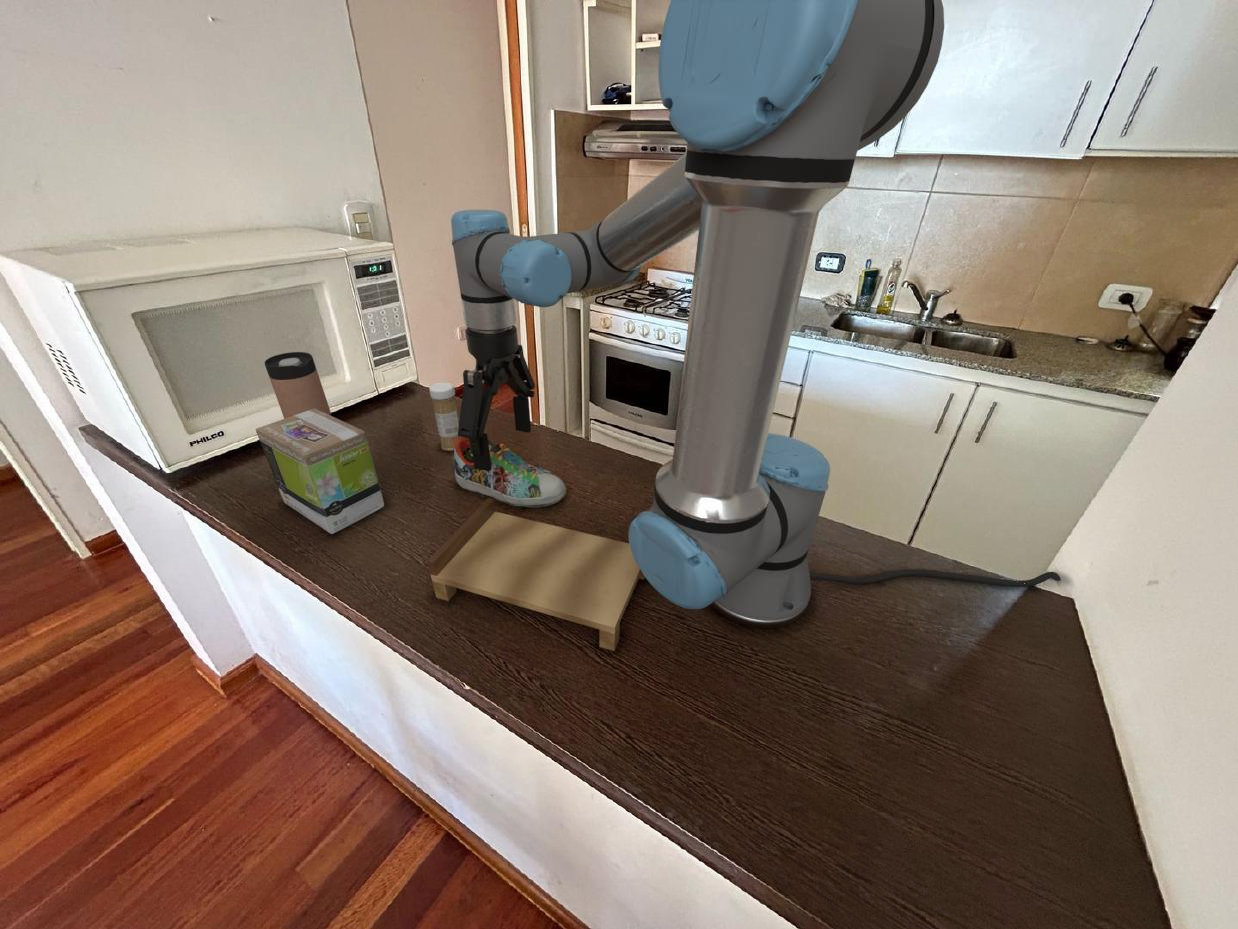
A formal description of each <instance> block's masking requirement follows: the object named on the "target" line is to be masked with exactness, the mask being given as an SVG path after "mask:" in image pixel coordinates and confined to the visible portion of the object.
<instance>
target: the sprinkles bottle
mask: <svg viewBox="0 0 1238 929" xmlns="http://www.w3.org/2000/svg"><path fill="white" fill-rule="evenodd" d="M428 391H429V397H430V399H431V401H432V406H433V411H434V417H435V422H436V427H437V432H438V436H439V441H440V448H441V450H443V451H446V452H454V443H455V440H457V439H458V438H460V436H458V427H459V420H460V416H459V413H458V406H457V401H456V390H455V385H454V384H453V383H451V382H447V381H442V382H441V381H440V382H436V383H434V384H432V385H430V386H429V390H428Z"/></svg>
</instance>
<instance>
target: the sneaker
mask: <svg viewBox="0 0 1238 929" xmlns="http://www.w3.org/2000/svg"><path fill="white" fill-rule="evenodd" d="M488 444H489V451H490V459H491V467H492V470H491V471H490V472H489V471H484V470H480V469H476V468H474V461H473V454H472V453H471V448H470V442H469V440H468V438H465V437H460V438H458V439H457V440H455V443H454V451H453V465H454V467H453V468H454V477H455V481H456V483H457V484H458V485H459V487H461V488H462V489H465V490H467V491H470V492H476V493H479V494H482V495H485V496H488V497H490V498H492V499H494V500H497V501H499V502H501V503H504V504H507V505H508V506H514V507H526V508H544V507H548V506H552V505H554V504H557V503H559V502H561V500H562V499H564V498H565V497H566V495H567V487H566V485H565V482H564V481H563V480H562V479H561V478H560V477H558V476H557V475H554V474H553V473H552V471H550V470H547V469H544V468H542V467H539V466H534V465H532V464H530V463H528V462H526V461H525V460H523V459H522V457H521V456H519V455H517V454H516V453H514V452H513V451H512V450H511V449H510V448H509V447H507V446H505V444H504V443H502V442H497V443H496V444H493V443H492V441H491V440H490V439H488Z"/></svg>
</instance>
